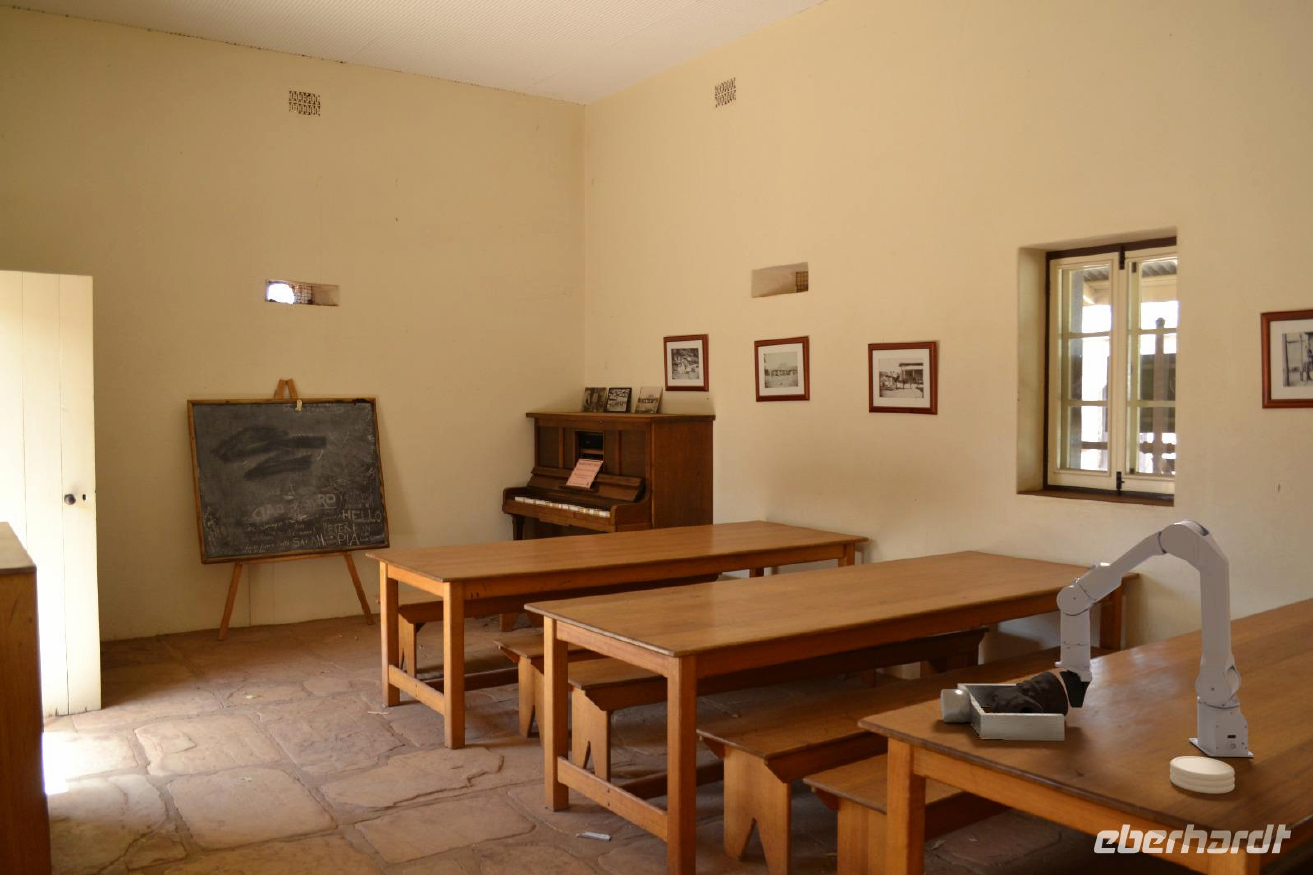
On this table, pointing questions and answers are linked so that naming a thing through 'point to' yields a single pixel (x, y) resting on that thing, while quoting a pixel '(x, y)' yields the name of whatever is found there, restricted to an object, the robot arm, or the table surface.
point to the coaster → (1202, 774)
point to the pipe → (1032, 697)
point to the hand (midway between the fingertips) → (1076, 706)
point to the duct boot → (997, 715)
